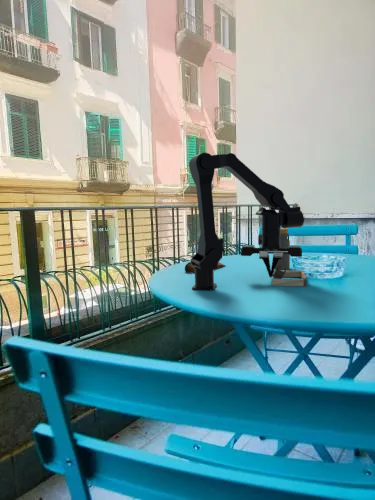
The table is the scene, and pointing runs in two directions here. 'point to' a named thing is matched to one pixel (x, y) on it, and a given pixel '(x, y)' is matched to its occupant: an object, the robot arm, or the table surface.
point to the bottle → (284, 244)
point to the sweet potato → (191, 269)
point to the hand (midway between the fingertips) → (270, 277)
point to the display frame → (291, 281)
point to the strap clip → (279, 273)
